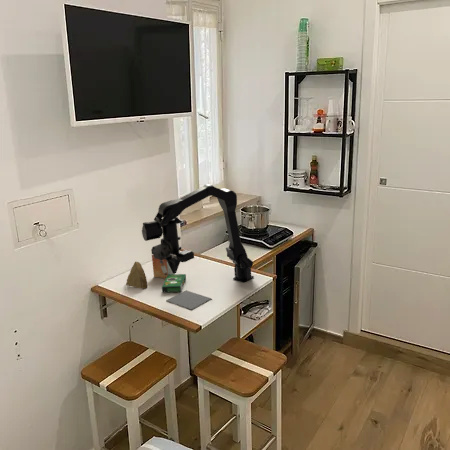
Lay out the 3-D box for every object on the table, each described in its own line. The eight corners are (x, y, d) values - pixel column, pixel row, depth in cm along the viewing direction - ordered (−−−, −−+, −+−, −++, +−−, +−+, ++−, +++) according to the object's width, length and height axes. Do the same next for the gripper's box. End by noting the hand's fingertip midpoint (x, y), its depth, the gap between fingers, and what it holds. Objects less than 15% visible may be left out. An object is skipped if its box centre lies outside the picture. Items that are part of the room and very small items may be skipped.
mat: (211, 299, 186) (211, 298, 186) (191, 310, 178) (191, 309, 178) (186, 291, 195) (186, 290, 195) (166, 301, 187) (166, 300, 187)
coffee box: (181, 292, 194) (186, 279, 207) (181, 286, 193) (185, 273, 206) (162, 293, 195) (168, 280, 207) (161, 286, 194) (167, 273, 207)
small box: (153, 277, 212) (151, 254, 209) (161, 272, 217) (158, 250, 214) (168, 279, 208) (166, 256, 205) (175, 274, 213) (173, 252, 210)
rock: (154, 282, 200) (150, 271, 209) (140, 270, 196) (136, 259, 205) (135, 299, 201) (131, 287, 209) (120, 288, 196) (118, 276, 205)
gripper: (138, 237, 184) (143, 275, 188) (171, 245, 172) (176, 285, 176) (160, 229, 192) (164, 266, 196) (193, 236, 180) (196, 275, 184)
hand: (174, 273), depth 188 cm, fingers closed
